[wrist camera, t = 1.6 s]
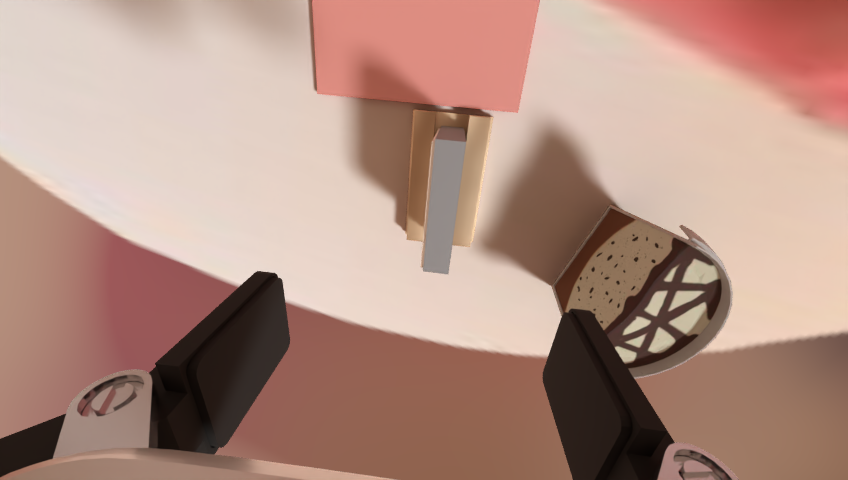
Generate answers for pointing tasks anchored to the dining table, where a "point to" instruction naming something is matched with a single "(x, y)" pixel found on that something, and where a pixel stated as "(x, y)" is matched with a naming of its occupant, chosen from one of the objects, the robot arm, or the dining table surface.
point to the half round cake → (647, 290)
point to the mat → (425, 50)
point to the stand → (472, 171)
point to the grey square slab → (442, 198)
